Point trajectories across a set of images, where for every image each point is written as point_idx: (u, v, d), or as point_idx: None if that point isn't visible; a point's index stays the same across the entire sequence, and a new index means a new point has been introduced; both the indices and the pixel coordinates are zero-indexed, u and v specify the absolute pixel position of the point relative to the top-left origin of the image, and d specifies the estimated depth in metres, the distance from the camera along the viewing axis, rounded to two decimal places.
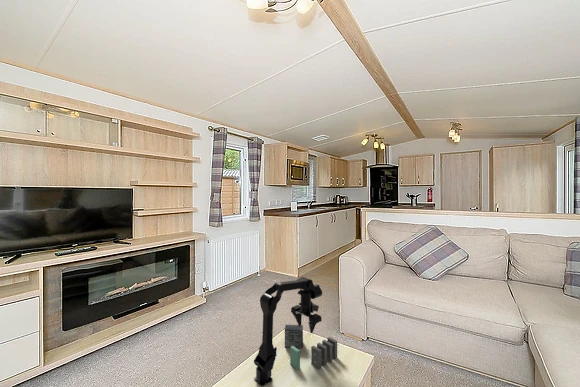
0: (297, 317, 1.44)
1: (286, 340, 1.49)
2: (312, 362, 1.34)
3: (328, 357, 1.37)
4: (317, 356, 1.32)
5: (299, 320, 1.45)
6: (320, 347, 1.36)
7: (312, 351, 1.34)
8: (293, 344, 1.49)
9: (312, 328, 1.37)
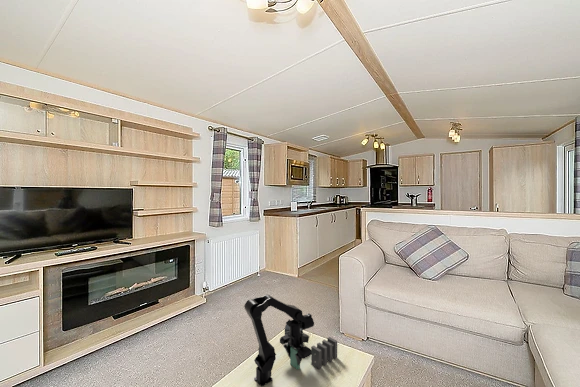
0: (288, 350, 1.35)
1: None
2: (312, 362, 1.34)
3: (328, 357, 1.37)
4: (317, 356, 1.32)
5: None
6: (320, 347, 1.36)
7: (312, 351, 1.34)
8: None
9: (299, 360, 1.30)
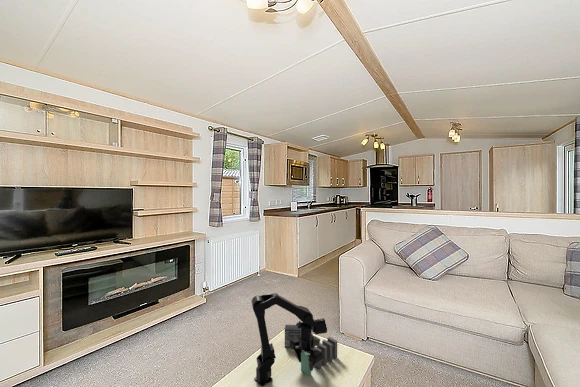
0: (297, 352, 1.31)
1: (286, 340, 1.49)
2: None
3: (328, 357, 1.37)
4: None
5: (300, 355, 1.32)
6: (320, 347, 1.36)
7: None
8: None
9: (312, 366, 1.24)
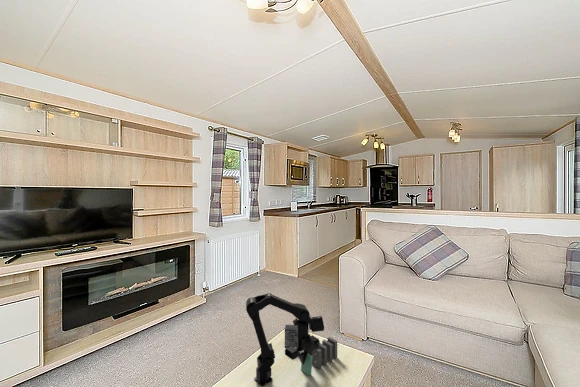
0: None
1: (286, 340, 1.49)
2: (312, 362, 1.34)
3: (328, 357, 1.37)
4: (317, 356, 1.32)
5: None
6: (320, 347, 1.36)
7: None
8: (293, 344, 1.49)
9: (300, 358, 1.27)
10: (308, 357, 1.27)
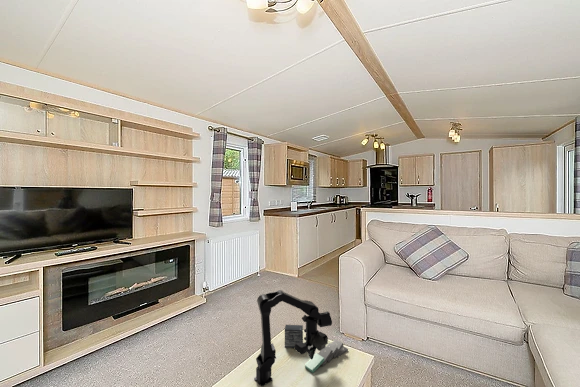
0: None
1: (286, 340, 1.49)
2: None
3: None
4: (326, 353, 1.37)
5: None
6: (332, 345, 1.43)
7: (322, 349, 1.40)
8: (293, 344, 1.49)
9: (308, 353, 1.31)
10: (321, 358, 1.34)
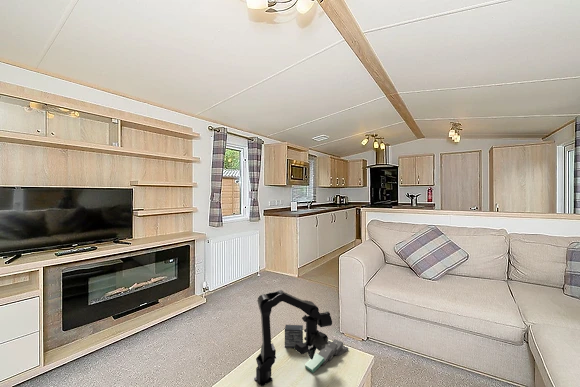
0: None
1: (286, 340, 1.49)
2: None
3: None
4: (327, 352, 1.38)
5: None
6: (331, 343, 1.44)
7: None
8: (293, 344, 1.49)
9: (309, 353, 1.31)
10: (321, 358, 1.34)
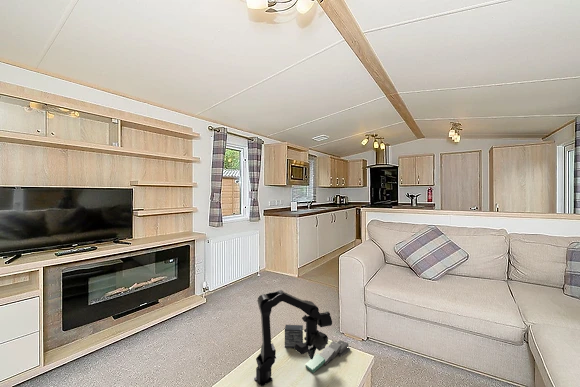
0: None
1: (286, 340, 1.49)
2: None
3: None
4: (329, 353, 1.38)
5: None
6: (335, 343, 1.44)
7: (325, 349, 1.41)
8: (293, 344, 1.49)
9: (309, 353, 1.31)
10: (322, 358, 1.34)
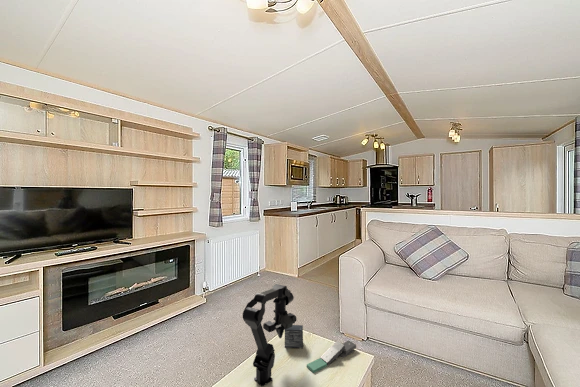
0: None
1: (286, 340, 1.49)
2: (322, 356, 1.38)
3: (346, 348, 1.43)
4: (332, 353, 1.38)
5: None
6: (339, 343, 1.45)
7: (330, 349, 1.41)
8: (293, 344, 1.49)
9: (277, 332, 1.37)
10: (324, 363, 1.34)
